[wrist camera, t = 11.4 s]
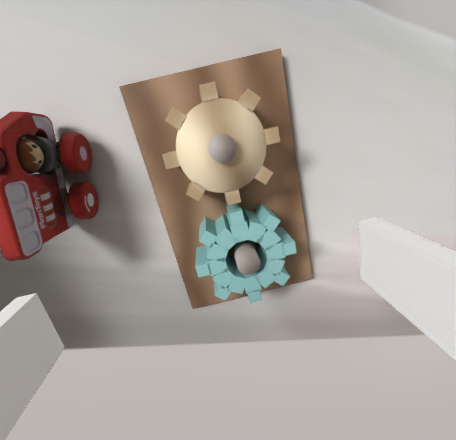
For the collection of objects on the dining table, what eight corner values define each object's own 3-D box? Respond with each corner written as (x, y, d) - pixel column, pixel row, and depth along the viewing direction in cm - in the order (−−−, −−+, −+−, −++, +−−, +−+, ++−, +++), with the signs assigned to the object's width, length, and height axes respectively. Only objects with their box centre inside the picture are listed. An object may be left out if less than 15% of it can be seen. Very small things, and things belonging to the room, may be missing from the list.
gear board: (193, 303, 36) (190, 342, 29) (123, 88, 27) (95, 71, 20) (308, 274, 36) (333, 306, 29) (277, 52, 27) (302, 22, 20)
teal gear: (185, 211, 30) (182, 225, 25) (275, 189, 30) (288, 199, 26) (208, 288, 34) (209, 313, 29) (288, 268, 34) (302, 289, 29)
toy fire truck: (86, 116, 27) (19, 103, 17) (103, 224, 31) (57, 263, 21) (18, 116, 27) (-91, 102, 17) (44, 226, 30) (-32, 267, 21)
